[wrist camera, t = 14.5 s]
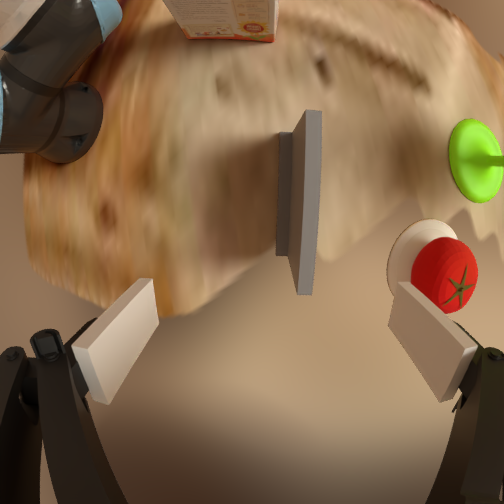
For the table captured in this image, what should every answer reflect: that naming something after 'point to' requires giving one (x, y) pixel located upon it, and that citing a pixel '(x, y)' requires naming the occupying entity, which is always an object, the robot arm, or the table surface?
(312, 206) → the grey board
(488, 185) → the wineglass
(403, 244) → the plate
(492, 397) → the robot arm
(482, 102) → the table surface
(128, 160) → the table surface
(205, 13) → the cracker box
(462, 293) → the tomato
